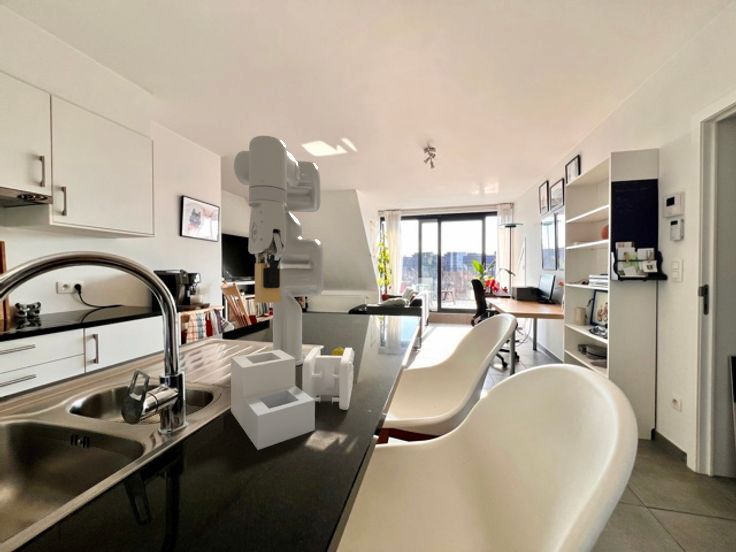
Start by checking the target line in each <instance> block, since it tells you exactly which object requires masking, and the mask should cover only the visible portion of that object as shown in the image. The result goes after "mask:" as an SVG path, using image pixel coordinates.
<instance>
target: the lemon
mask: <svg viewBox="0 0 736 552" xmlns="http://www.w3.org/2000/svg"><path fill="white" fill-rule="evenodd" d="M344 350H345V348H342V347H341V346H338V347H337V348H335V349H334V350H332V352H331V354H330V356H343V353H344Z"/></svg>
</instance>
